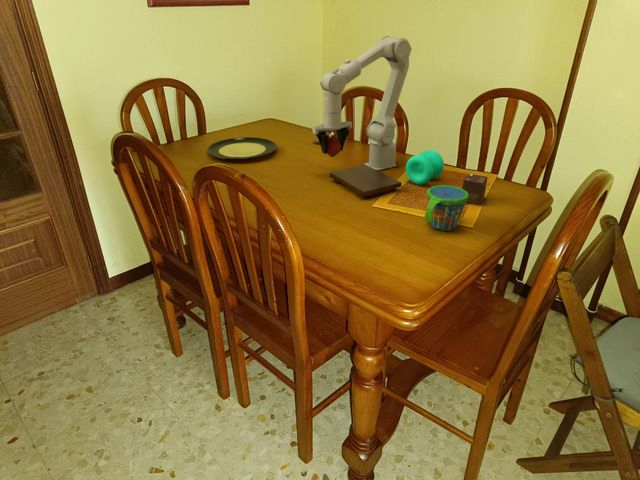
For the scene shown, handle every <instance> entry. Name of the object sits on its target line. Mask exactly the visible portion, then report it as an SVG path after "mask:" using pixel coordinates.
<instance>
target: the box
mask: <svg viewBox="0 0 640 480" xmlns="http://www.w3.org/2000/svg"><path fill="white" fill-rule="evenodd" d="M488 178H489V177H488V176H485V175H478V174H473V173H468V174H467V175H466V176H465V177H464V178H463V180H462V187H461V189H463V190H465V191H466V192H467V193H468V196H469V197H468V200H467V201H466V202H465V203H467V204H473V205H478V206H479V205H481V203H482V202H483V201H484V200H485V195H486V190H487V184H488Z"/></svg>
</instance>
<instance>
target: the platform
mask: <svg viewBox="0 0 640 480" xmlns="http://www.w3.org/2000/svg"><path fill="white" fill-rule="evenodd" d="M329 177H330V178H331V179H333V181H334V182H335V183H337V184H341V185H343V186H345V187H346V188H348V189H350V190H352V191H353V192H355V193H356V194H358V195H359V197H360V198H362V199H367V198H368V199H369V198H372V197H375V196H379V195H383V194H386V193H391V192H394V191H396V190H397V189H398V188H402V181H399V180H398V179H396V178H394V177H392V176H389V175H388V174H385V173H383V172H381V170H375V169H373V168H371V167H369V166H367V165H364V164H362V165H357V166H353V167H352V166H351V167H347V168H343V169H339V170H334V171H331V172H329Z"/></svg>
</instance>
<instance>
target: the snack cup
mask: <svg viewBox="0 0 640 480" xmlns="http://www.w3.org/2000/svg"><path fill="white" fill-rule="evenodd" d="M426 195H427V198H428V204H427V207H426V210H425V214H424V217H423V218H424V221H425V222H426V223H428V224H430V226H431V227H432V228H433V229H434V230H438V231H443V232H451V231H452V230H455V229H457V228H458V225H459V222H460V219H461V217H462V214H463V211H464V208H465V206H466V203H467V202H466V201H467V200H468V197H469V196H468V193H467V192H466V191H465V190H463V189H462V187H458V186H454V185H449V184H448V185H446V184H445V185H443V184H441V185H434V186H431V187H430V188H428V190H426Z"/></svg>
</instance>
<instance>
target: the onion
mask: <svg viewBox="0 0 640 480" xmlns="http://www.w3.org/2000/svg"><path fill="white" fill-rule="evenodd" d="M330 134H331V133H330ZM340 150H341V144H340V142H339V140H338V139H337V137H334V136H333V134H331V137H330V138H328V144H327V154H326V155H328V156H329V157H330V158H334V157H336V156H337V155H338V154H339V153H340V152H341V151H340Z"/></svg>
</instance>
